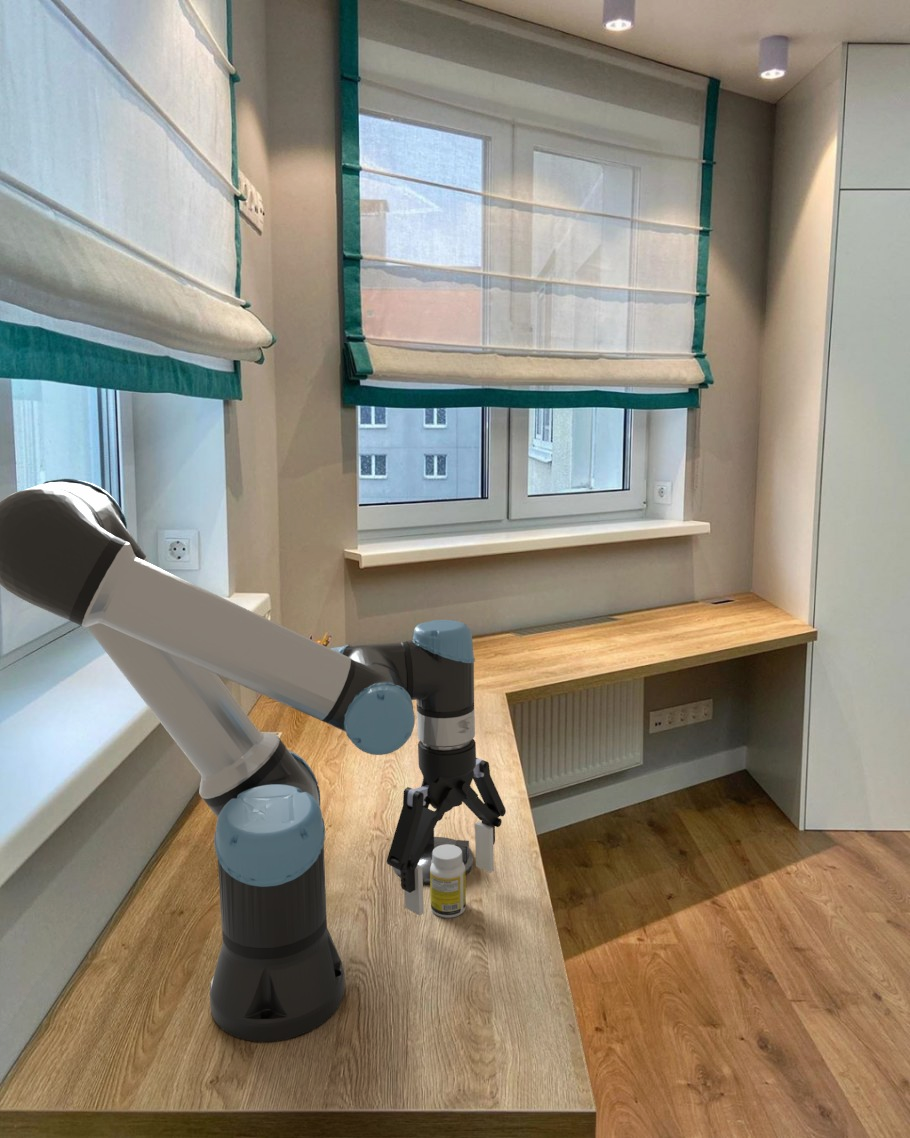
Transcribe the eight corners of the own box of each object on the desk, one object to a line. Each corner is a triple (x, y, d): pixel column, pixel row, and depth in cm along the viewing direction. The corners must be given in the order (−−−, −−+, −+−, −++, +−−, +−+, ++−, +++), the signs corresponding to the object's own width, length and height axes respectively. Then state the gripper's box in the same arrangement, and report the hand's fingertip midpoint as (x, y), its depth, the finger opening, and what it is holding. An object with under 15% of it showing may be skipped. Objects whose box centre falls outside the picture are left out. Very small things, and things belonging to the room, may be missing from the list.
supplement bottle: (446, 895, 120) (445, 839, 119) (473, 907, 117) (472, 849, 116) (423, 910, 117) (422, 852, 115) (450, 923, 114) (449, 864, 112)
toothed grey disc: (432, 894, 120) (432, 871, 120) (375, 863, 129) (375, 842, 128) (489, 861, 129) (489, 839, 128) (433, 834, 137) (432, 814, 136)
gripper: (395, 778, 101) (401, 942, 105) (529, 719, 119) (531, 861, 123) (353, 761, 106) (361, 918, 110) (488, 707, 124) (491, 844, 128)
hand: (451, 888), depth 117 cm, fingers open, 13 cm apart
